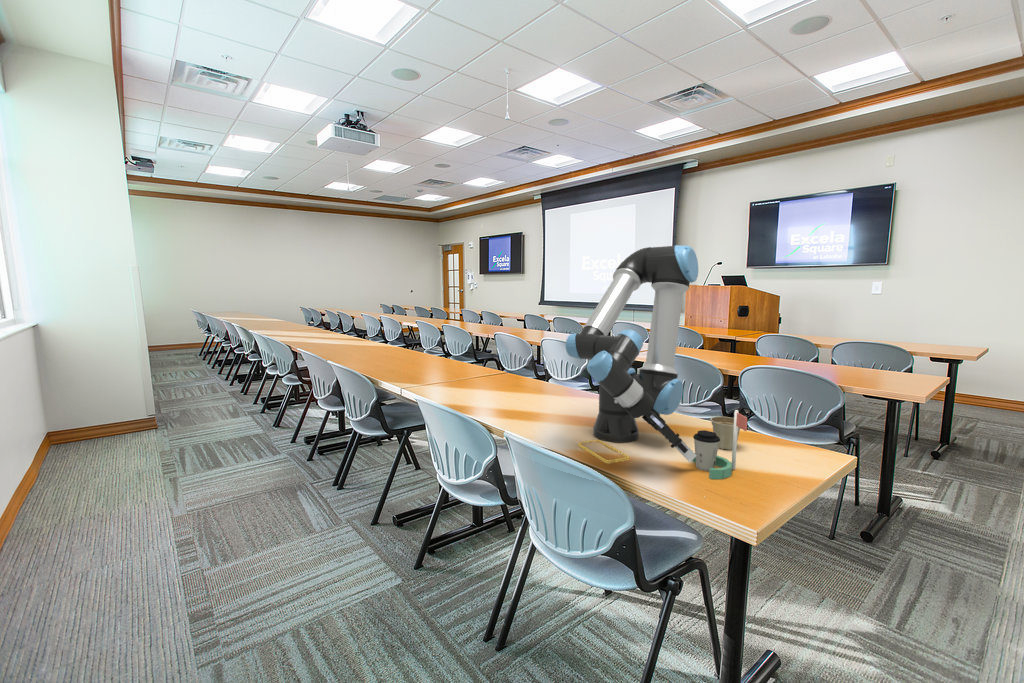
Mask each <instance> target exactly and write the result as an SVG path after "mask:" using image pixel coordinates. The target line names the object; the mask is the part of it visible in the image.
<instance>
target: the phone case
mask: <svg viewBox="0 0 1024 683" xmlns="http://www.w3.org/2000/svg"><path fill="white" fill-rule="evenodd" d="M593 442H595V443H600V444H601V443H602V444H601V445H603V446H605V447H606V446H607V447H606V448H608V447H609V448H608V449H610V450H611V451H613V452H615V451H616V453H617V452H618V453H620V454H619V455H623V457H620V458H615V459H613V458H612V459H606V458H604V457H602V456H601V455H599V454H598V453H596V452H595V451H593V450H591V449H589V448H588V447H586V446H584V445H582V444H585V445H587V443H589V444H591V443H593ZM577 443H578V444H577V446H578V447H579V448H581V449H583V450H584V451H585V452H587V453H588V454H590V455H591V456H593V457H596V458H597V459H598V460H599V461H601V462H603V463H605V464H614V462H615V463H619V461H621V462H625V461H624V460H627V461H629V460H628V459H630V456H629V455H627V454H626V453H624V452H622V451H620V450H619V449H617V448H615V447H613V446H611V445H610V444H607V443H606V442H604V441H603V440H601V439H593V440H586V441H581V442H580V441H579V442H577ZM624 456H625V457H624Z"/></svg>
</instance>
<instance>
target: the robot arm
mask: <svg viewBox="0 0 1024 683" xmlns="http://www.w3.org/2000/svg"><path fill="white" fill-rule="evenodd" d="M698 275H699V262H698V257H697V254H696V252H695V250H694V248H693V247H691V246H689V245H678V244H676V245H667V246H665V245H664V246H653V247H651V246H649V247H644V248H641V249H638V250H635V251H634V252H632V253H631V254H630V255H628V256H627V257H626V258H625V259H623V261H622V262H621V263H620V264H619V265H618V266H617V267H616V269H615V271H614V273H613V274H612V281H611V282H610V285H609V286H608V288H607V289H606V291H605V292H604V294H603V296H602V297H601V299H600V301H599V302H598V304H597V306H596V307H595V308H594V310H593V312H592V313H591V315H590V316H589V318H588V319H587V321H586V323H585V324H584V326H583V328H582V329H581V331H580V332H579V333H578V332H575V333H574V332H573V333H571V334H569V335H568V336H567V338H566V342H565V350H566V353H567V355H568V356H569V357H571V358H575V359H580V360H589V361H588V363H587V365H586V370H587V372H588V373H589V375H590V376H591V377H592V378H593V379H594V381H595V382H596V383H597V384H598V385H599V386H598V388H599V389H598V414H597V417H596V420H595V423H594V425H593V430H592V431H593V434H592V435H593V436H594V437H595V438H597V439H598V440H601V441H605V442H612V443H630V442H634V441H636V440H638V439H639V435H640V434H639V432H640V431H639V427H638V424H637V421H636V419H639V418H642V419H643V420H644V421H645V422H646V423H647V424H648V425H650V426H651V427H652V428H653V429H654V430H655V431H658V432H659V433H660V434H661V435H662V436H664V438H665V440H667V441H668V443H670V444H671V445H670V447H671V448H672V449H675V450H677V451H678V453H680V454H681V455H682V456H683V458H685V459H686V460H687V461H688V462H689V463H692V460H693V459H694V458H695V457H696V456H697V455H696V454H695V452H694V451H693V450H692V449H691V447H690V446H688V445H687V444H686V443H685V442H684V441H683V440H682V438H681V437H680V434H679V433H678V432H677V433H675V431H674V430H672V429H671V427H670V426H669V425H668V424H667V423H666V420H665V419H664V418H663V417H661V415H665V416H669V415H672V414H673V413H674V412H676V410H677V409H678V407H679V406H680V404H681V401H682V398H683V393H684V384H683V381H682V380H681V379H680V378H679V377H678V375H679V373H678V372H677V370H676V369H675V368H674V366H675V360H676V351H677V344H678V343H677V342H678V336H679V331H680V330H679V328H680V322H681V314H682V313H681V312H682V306H683V305H682V304H683V298H684V294H685V293H686V292H687V291H688V290H690V283H691V284H692V283H695V282H696V281H697V280H698V277H699V276H698ZM646 283H649V284H651V285H650V286H651V288H652V289H653V290H654V299H653V307H652V315H651V321H650V322H651V323H650V330H649V335H648V336H649V337H648V343H647V344H648V345H647V350H646V357H645V358H646V359H645V364H644V365H643V366H642V367H640V368H639V373H637V372H636V369H635V368H633V367H632V365H633V363H635V361H636V359H637V357H638V356H639V355H640V352H641V350H642V348H643V346H644V340H643V338H642V336H641V335H640V334H639V333H638V332H637V331H635V330H633V329H624V330H622V331H620V332H619V333H618V335H616V336H615V335H609V333H610V332H611V330H612V328H613V326H614V325H615V323H616V322H617V320H618V318H619V317H620V315H621V313H622V311H623V309H624V308H625V306H626V305H627V302H628V301H629V299H630V298H631V296H632V294H633V293H634V292H635V291H637V290H638V289H640V287H641V285H643V284H646Z"/></svg>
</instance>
